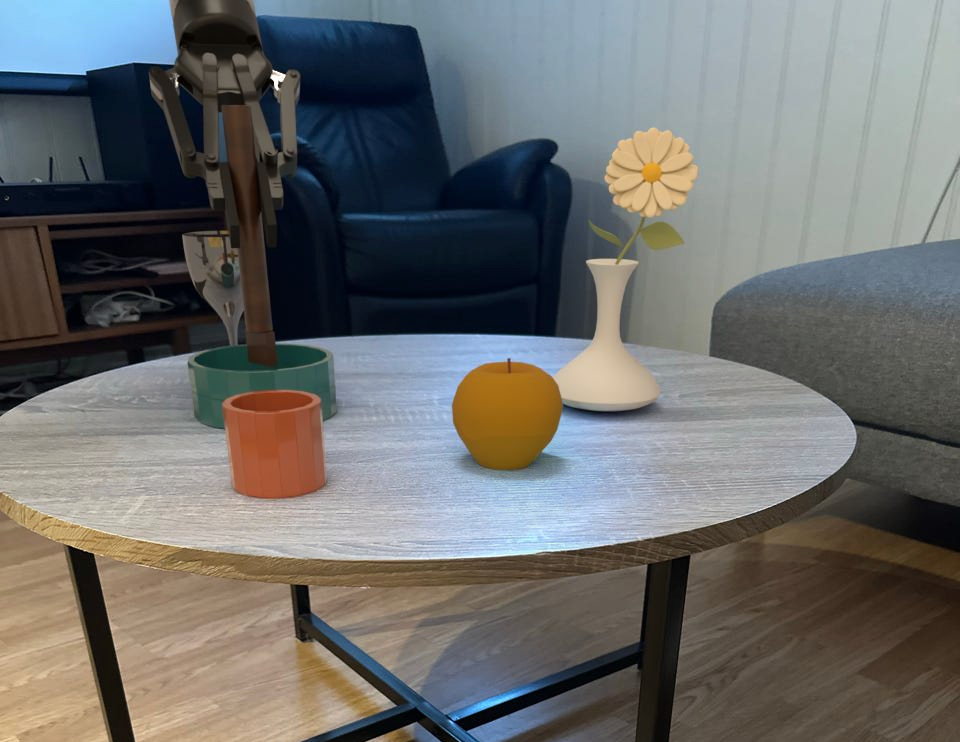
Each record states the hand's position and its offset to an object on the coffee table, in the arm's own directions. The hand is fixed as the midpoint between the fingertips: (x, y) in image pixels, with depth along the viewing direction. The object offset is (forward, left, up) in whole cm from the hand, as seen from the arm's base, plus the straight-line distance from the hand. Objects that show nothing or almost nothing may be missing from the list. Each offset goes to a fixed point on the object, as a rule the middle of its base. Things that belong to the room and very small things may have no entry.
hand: (253, 236), depth 79 cm
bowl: (-3, +2, -17) cm, 17 cm away
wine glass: (-21, +11, -17) cm, 29 cm away
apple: (+24, +6, -17) cm, 30 cm away
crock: (+15, -10, -17) cm, 24 cm away
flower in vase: (+18, +29, -17) cm, 38 cm away
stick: (-3, +2, -11) cm, 12 cm away
